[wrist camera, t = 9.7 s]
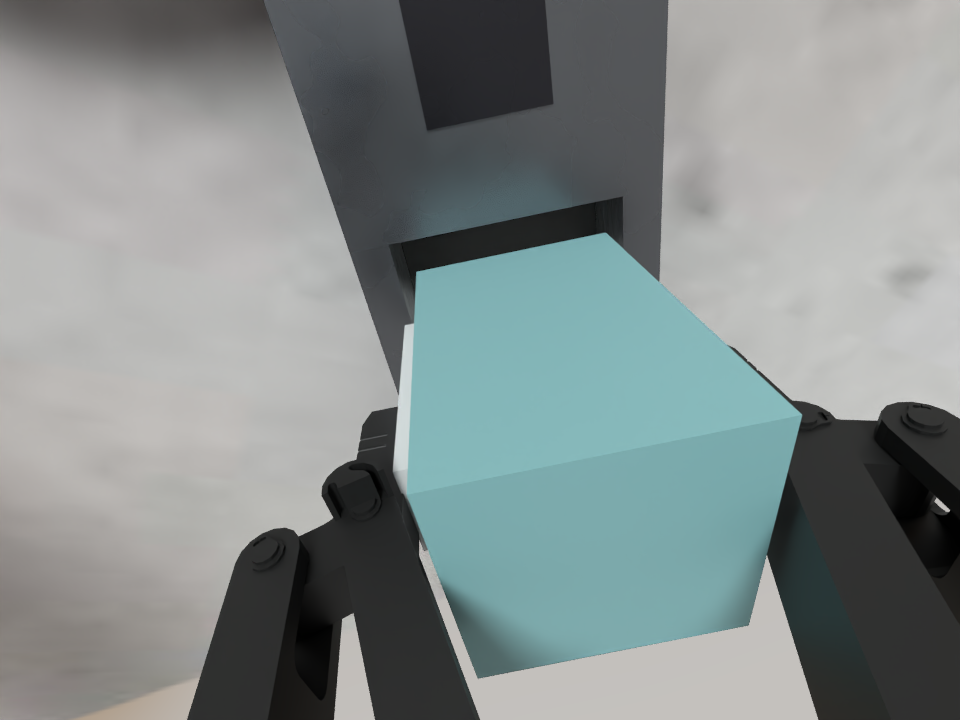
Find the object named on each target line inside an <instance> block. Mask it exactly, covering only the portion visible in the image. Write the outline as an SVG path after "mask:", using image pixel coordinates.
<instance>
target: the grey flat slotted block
mask: <svg viewBox="0 0 960 720" xmlns="http://www.w3.org/2000/svg"><path fill="white" fill-rule="evenodd" d="M263 1H264V4H265V7H266V9H267V12H268V15H269V18H270V21H271V24H272V27H273V30H274V33H275V36H276V39H277V42H278V45H279V47H280V50H281V53H282V56H283V59H284V62H285V65H286V68H287V71H288V74H289V77H290V80H291V82H292V85H293V88H294V91H295V94H296V97H297V100H298V103H299V106H300V109H301V112H302V115H303V118H304V120H305V123H306V126H307V129H308V132H309V135H310V138H311V141H312V144H313V147H314V150H315V153H316V155H317V158H318V161H319V164H320V167H321V170H322V173H323V176H324V179H325V182H326V185H327V188H328V190H329V193H330V196H331V199H332V202H333V205H334V208H335V211H336V214H337V217H338V220H339V223H340V226H341V228H342V231H343V234H344V237H345V240H346V243H347V246H348V249H349V252H350V255H351V258H352V261H353V263H354V266H355V269H356V272H357V275H358V278H359V281H360V284H361V287H362V290H363V293H364V296H365V299H366V301H367V304H368V307H369V310H370V313H371V316H372V319H373V322H374V325H375V328H376V331H377V334H378V336H379V339H380V342H381V345H382V348H383V351H384V354H385V357H386V360H387V363H388V366H389V369H390V372H391V374H392V377H393V380H394V383H395V386H396V389H397V392H398V395H399V389H400V377H401V364H402V352H403V340H404V328H405V325H409V324H414V314H415V292H414V288H413V285H412V281H411V277H410V274H409V270H408V267H407V263H406V259H405V256H404V252H403V249H402V245H401V242H406V241H410V240H415V239H420V238H425V237H430V236H434V235H439V234H444V233H449V232H454V231H458V230H463V229H468V228H473V227H478V226H483V225H487V224H492V223H497V222H502V221H507V220H511V219H516V218H521V217H526V216H531V215H535V214H540V213H545V212H550V211H555V210H560V209H564V208H569V207H574V206H579V205H584V204H588V203H593V202H595V210H596V233H597V234H601V233H607V234H608V235H609V236H610V237H611V238H612V239H613V240H614V241H615V242H617V243H618V244H619V245H620V246H621V247H622V248H623V249H624V250H625V251H626V252H627V253H628V254H629V255H631V256H632V257H633V258H634V259H635V260H636V261H637V262H638V263H639V264H640V265H641V266H642V267H643V268H645V269H646V270H647V271H648V272H649V273H650V274H651V275H652V276H653V277H654V278H655V279H656V280H657V281H659V274H660V242H661V211H662V180H663V148H664V117H665V85H666V54H667V22H668V0H263Z"/></svg>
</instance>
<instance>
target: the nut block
mask: <svg viewBox="0 0 960 720" xmlns="http://www.w3.org/2000/svg"><path fill="white" fill-rule="evenodd" d="M801 418H802V414H801V413H800V412H799V411H798V410H797V409H795V408H794V407H793V406H792V405H791V404H790V403H789V402H788V401H787V400H786V399H785V398H784V397H783V396H781V395H780V394H779V393H778V392H777V391H776V390H775V389H774V388H773V387H772V386H771V385H770V384H769V383H767V382H766V381H765V380H764V379H763V378H762V377H761V376H760V375H759V374H758V373H757V372H756V371H755V370H753V369H752V368H751V367H750V366H749V365H748V364H747V363H746V362H745V361H744V360H743V359H742V358H741V357H739V356H738V355H737V354H736V353H735V352H734V351H733V350H732V349H731V348H730V347H729V346H728V345H726V344H725V343H724V342H723V341H722V340H721V339H720V338H719V337H718V336H717V335H716V334H715V333H714V332H712V331H711V330H710V329H709V328H708V327H707V326H706V325H705V324H704V323H703V322H702V321H701V320H700V319H698V318H697V317H696V316H695V315H694V314H693V313H692V312H691V311H690V310H689V309H688V308H687V307H686V306H684V305H683V304H682V303H681V302H680V301H679V300H678V299H677V298H676V297H675V296H674V295H673V294H672V293H670V292H669V291H668V290H667V289H666V288H665V287H664V286H663V285H662V284H661V283H660V282H659V281H657V280H656V279H655V278H654V277H653V276H652V275H651V274H650V273H649V272H648V271H647V270H646V269H645V268H643V267H642V266H641V265H640V264H639V263H638V262H637V261H636V260H635V259H634V258H633V257H632V256H631V255H629V254H628V253H627V252H626V251H625V250H624V249H623V248H622V247H621V246H620V245H619V244H618V243H617V242H615V241H614V240H613V239H612V238H611V237H610V236H609V235H608V234H607V233H601V234H596V235H591V236H587V237H582V238H577V239H572V240H567V241H562V242H558V243H553V244H548V245H543V246H538V247H534V248H529V249H524V250H519V251H514V252H509V253H505V254H500V255H495V256H490V257H485V258H480V259H476V260H471V261H466V262H461V263H456V264H452V265H447V266H442V267H437V268H432V269H427V270H423V271H418V272H416V292H415V314H414V337H413V360H412V383H411V406H410V429H409V451H408V474H407V497H408V500H409V502H410V505H411V507H412V510H413V512H414V515H415V518H416V520H417V523H418V525H419V528H420V531H421V533H422V536H423V538H424V541H425V543H426V546H427V549H428V551H429V554H430V556H431V559H432V561H433V564H434V567H435V569H436V572H437V574H438V577H439V580H440V582H441V585H442V587H443V590H444V592H445V595H446V598H447V600H448V603H449V605H450V608H451V610H452V613H453V616H454V618H455V621H456V623H457V626H458V629H459V631H460V634H461V636H462V639H463V641H464V644H465V647H466V649H467V652H468V654H469V657H470V659H471V662H472V665H473V667H474V670H475V672H476V675H477V677H478V678H483V677H489V676H494V675H499V674H504V673H508V672H514V671H519V670H524V669H529V668H534V667H539V666H545V665H549V664H555V663H559V662H564V661H569V660H575V659H579V658H585V657H590V656H595V655H601V654H606V653H610V652H616V651H621V650H626V649H631V648H636V647H641V646H646V645H651V644H656V643H662V642H667V641H672V640H677V639H681V638H687V637H692V636H697V635H702V634H707V633H712V632H718V631H722V630H728V629H733V628H738V627H743V626H748V625H749V622H750V618H751V614H752V610H753V606H754V602H755V599H756V594H757V591H758V587H759V583H760V579H761V575H762V571H763V567H764V563H765V559H766V555H767V552H768V548H769V544H770V540H771V536H772V532H773V528H774V524H775V520H776V516H777V512H778V508H779V504H780V501H781V497H782V493H783V489H784V485H785V481H786V477H787V473H788V469H789V465H790V461H791V457H792V453H793V450H794V446H795V442H796V438H797V434H798V430H799V426H800V422H801Z"/></svg>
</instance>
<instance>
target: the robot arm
mask: <svg viewBox="0 0 960 720" xmlns="http://www.w3.org/2000/svg"><path fill="white" fill-rule="evenodd" d="M413 337H414V324H409V325H405V328H404V340H403V352H402V364H401V377H400V389H399V401H398V407H394V408H389V409H384V410H379V411H374V412H372V413H371V414H370V415H369V417H368V418H367V420H366V421H365V423H364V424H363V426H362V432H361V437H360V440H361V441H360V443H359V449H358V451H359V453H358V454H357V460H354V461H350V462H347V463H345V464H344V465H342V466H340V467H338V468H337V469H336V470H334V471H333V472H332V473H331V474H330V475H329V476H328V477H327V479H326V481H325V483H324V484H323V486H322V497H323V499H324V501H325V503H326V505H327V507H328V508H329V510H330V512H331V514H332V516H333V519H332V520H330V521H329V522H327V523H326V524H324V525H322V526H320V527H318V528H316V529H314V530H312V531H310V532H308V533H305V534H303V535H301V536H299V537H298V535H297V534H296V533H295V532H294V531H293V530H290V529H287V528H278V529H273V530H270V531H268V532H265V533H263V534H261V535H260V536H258V537H257V538H255V539H254V540H252V541H251V542H250V543H249V544H248V545H247V546H246V547H245V549H244V550H243V551H242V552H241V554H240V556H239V557H238V559H237V561H236V563H235V567H234V570H233V573H232V576H231V580H230V583H229V586H228V589H227V592H226V596H225V599H224V602H223V605H222V609H221V612H220V615H219V618H218V622H217V625H216V628H215V631H214V634H213V638H212V641H211V644H210V647H209V651H208V654H207V657H206V660H205V664H204V667H203V670H202V673H201V677H200V680H199V683H198V687H197V689H196V693H195V696H194V699H193V703H192V706H191V709H190V712H189V716H188V719H187V720H334V711H335V699H336V687H337V674H338V662H339V650H340V638H341V626H342V619H343V618H345V617H346V616H348V615H350V614H352V613H354V617H355V622H356V627H357V632H358V636H359V642H360V647H361V652H362V656H363V662H364V666H365V672H366V677H367V682H368V686H369V691H370V696H371V701H372V706H373V711H374V716H375V720H480V718H479V716H478V713H477V710H476V707H475V705H474V702H473V699H472V697H471V694H470V691H469V689H468V686H467V683H466V681H465V678H464V675H463V672H462V670H461V667H460V664H459V662H458V659H457V656H456V654H455V651H454V648H453V645H452V643H451V640H450V637H449V635H448V632H447V629H446V627H445V624H444V621H443V618H442V616H441V613H440V610H439V608H438V605H437V602H436V600H435V597H434V594H433V591H432V589H431V586H430V583H429V581H428V578H427V575H426V573H425V570H424V567H423V565H422V562H421V560H420V557H419V540H420V542H421V545H422V547H423V550H424V551H426V550H428V549H427V546H426V543H425V541H424V538H423V536H422V533H421V531H420V528H419V525H418V523H417V520H416V518H415V515H414V512H413V510H412V507H411V505H410V502H409V500H408V497H407V474H408V451H409V429H410V406H411V383H412V360H413ZM729 347H730V348H731V349H732V350H733V351H734V352H735V353H736V354H737V355H738V356H739V357H741V358H742V359H743V360H744V361H745V362H746V363H747V364H748V365H749V366H750V367H751V368H752V369H753V370H755V371H756V372H757V373H758V374H759V375H760V376H761V377H762V378H763V379H764V380H765V381H766V382H767V383H769V384H770V385H771V386H772V387H773V388H774V389H775V390H776V391H777V392H778V393H779V394H780V395H781V396H783V397H784V398H785V399H786V400H787V401H788V402H789V403H790V404H791V405H792V406H793V407H794V408H795V409H797V410H798V411H799V412H800V413H801V414H802V418H801V422H800V426H799V430H798V434H797V438H796V442H795V446H794V450H793V453H792V457H791V461H790V465H789V469H788V473H787V477H786V481H785V485H784V489H783V493H782V497H781V501H780V504H779V508H778V512H777V516H776V520H775V524H774V528H773V532H772V536H771V540H770V544H769V548H768V552H767V556H768V559H769V563H770V566H771V569H772V572H773V575H774V578H775V582H776V585H777V588H778V591H779V595H780V598H781V601H782V604H783V607H784V610H785V614H786V617H787V620H788V623H789V627H790V630H791V633H792V636H793V639H794V643H795V646H796V649H797V652H798V655H799V659H800V662H801V665H802V668H803V672H804V675H805V678H806V681H807V684H808V688H809V691H810V694H811V697H812V701H813V704H814V707H815V710H816V713H817V717H818V720H960V419H959V418H958V417H956V416H954V415H952V414H950V413H949V412H947V411H945V410H943V409H940V408H937V407H934V406H931V405H927V404H921V403H915V402H897V403H894V404H891V405H887V406H886V407H885V408H884V409H883V410H882V411H881V413H880V416H879V419H878V421H865V420H839V419H835V417H834V416H833V415H832V414H831V413H830V412H828V411H826V410H825V409H823V408H821V407H819V406H817V405H813V404H810V403H807V402H801V401H792V400H791V399H789V398H788V397H787V396H786V395H785V394H784V393H783V392H782V391H781V390H780V389H779V388H777V387H776V386H775V385H774V384H773V383H772V382H771V381H770V380H769V379H768V378H767V377H765V376H764V375H763V374H762V373H761V372H760V371H759V370H758V371H757V369H756V367H755V366H753V365H752V364H751V363H750V362H747V359H746V358H745V357H744V356H743V355H741V354H740V353H739V352H738V351H737V350H736V349H735V348H733V347H731V346H729ZM936 497H937V498H938V499H939V500H940V501H942V503H944V505H946V506H947V507H948V508H949V509H950V512H945V511H944V510H943V509H941V508H940V507H939V506H938V505H937V504H936V503H935V502H934V501H935V499H936Z"/></svg>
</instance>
